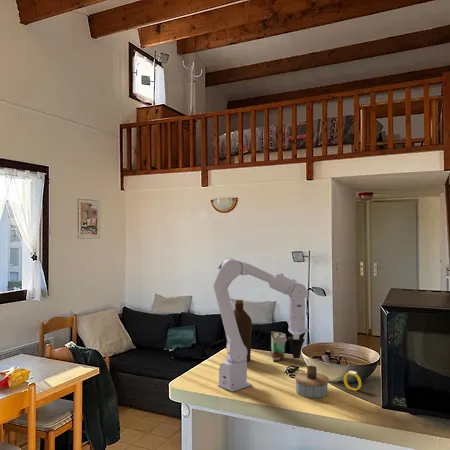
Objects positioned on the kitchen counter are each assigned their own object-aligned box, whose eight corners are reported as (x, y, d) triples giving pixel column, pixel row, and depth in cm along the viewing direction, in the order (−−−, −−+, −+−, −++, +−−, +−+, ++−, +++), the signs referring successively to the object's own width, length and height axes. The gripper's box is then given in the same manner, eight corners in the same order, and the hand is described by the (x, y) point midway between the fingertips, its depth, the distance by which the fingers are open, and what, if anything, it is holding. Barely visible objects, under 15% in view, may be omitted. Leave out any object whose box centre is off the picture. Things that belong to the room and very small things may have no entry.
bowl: (314, 400, 136) (314, 388, 136) (290, 391, 143) (290, 379, 143) (333, 393, 142) (333, 381, 142) (309, 384, 150) (309, 373, 150)
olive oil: (245, 355, 185) (245, 297, 185) (256, 362, 175) (256, 301, 176) (222, 358, 181) (222, 298, 181) (232, 365, 171) (232, 302, 172)
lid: (314, 388, 135) (314, 374, 135) (288, 379, 144) (288, 366, 144) (335, 381, 142) (335, 367, 142) (309, 372, 151) (309, 360, 151)
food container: (288, 363, 175) (288, 338, 175) (273, 362, 175) (273, 338, 175) (285, 354, 187) (285, 331, 187) (270, 354, 187) (271, 331, 187)
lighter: (340, 380, 154) (340, 358, 154) (337, 381, 153) (337, 359, 153) (324, 375, 159) (324, 354, 160) (321, 376, 158) (321, 354, 159)
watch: (362, 391, 145) (363, 374, 144) (357, 393, 143) (358, 376, 143) (346, 385, 149) (347, 368, 149) (342, 387, 147) (343, 370, 147)
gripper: (308, 321, 144) (308, 361, 144) (308, 313, 158) (308, 350, 158) (287, 320, 145) (286, 360, 145) (289, 312, 160) (289, 348, 159)
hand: (296, 354), depth 152 cm, fingers open, 7 cm apart
